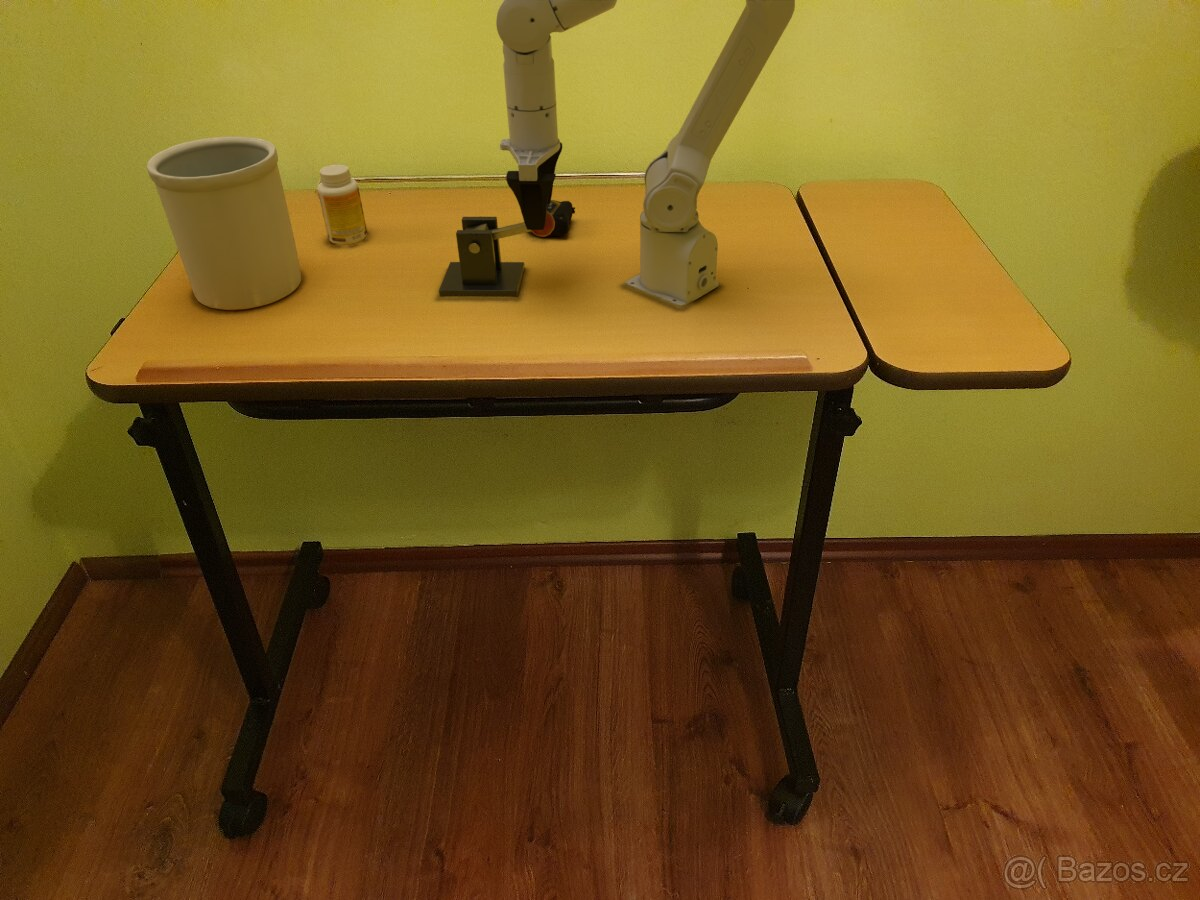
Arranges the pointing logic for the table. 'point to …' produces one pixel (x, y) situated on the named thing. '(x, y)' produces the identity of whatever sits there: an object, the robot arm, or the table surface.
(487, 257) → the switch bracket
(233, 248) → the utensil holder
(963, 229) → the table surface
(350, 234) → the supplement bottle
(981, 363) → the table surface
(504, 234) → the lever
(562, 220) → the tape measure
